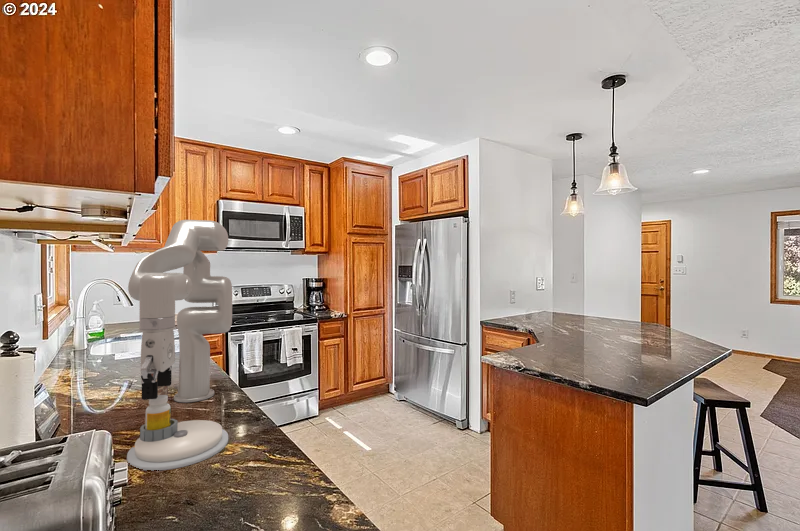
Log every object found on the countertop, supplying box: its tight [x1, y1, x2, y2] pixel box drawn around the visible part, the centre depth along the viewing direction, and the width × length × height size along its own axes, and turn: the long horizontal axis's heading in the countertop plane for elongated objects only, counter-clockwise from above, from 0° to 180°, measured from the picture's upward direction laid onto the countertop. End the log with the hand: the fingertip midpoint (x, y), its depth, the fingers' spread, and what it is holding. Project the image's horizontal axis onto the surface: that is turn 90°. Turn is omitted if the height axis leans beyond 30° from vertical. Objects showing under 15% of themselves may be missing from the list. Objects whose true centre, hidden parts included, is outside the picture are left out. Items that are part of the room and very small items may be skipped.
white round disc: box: [134, 418, 223, 462], centre depth 96 cm, size 19×19×4 cm
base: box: [126, 428, 229, 472], centre depth 96 cm, size 22×22×1 cm
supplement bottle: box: [144, 395, 172, 430], centre depth 96 cm, size 5×5×10 cm
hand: (157, 392), depth 95 cm, fingers open, 9 cm apart
